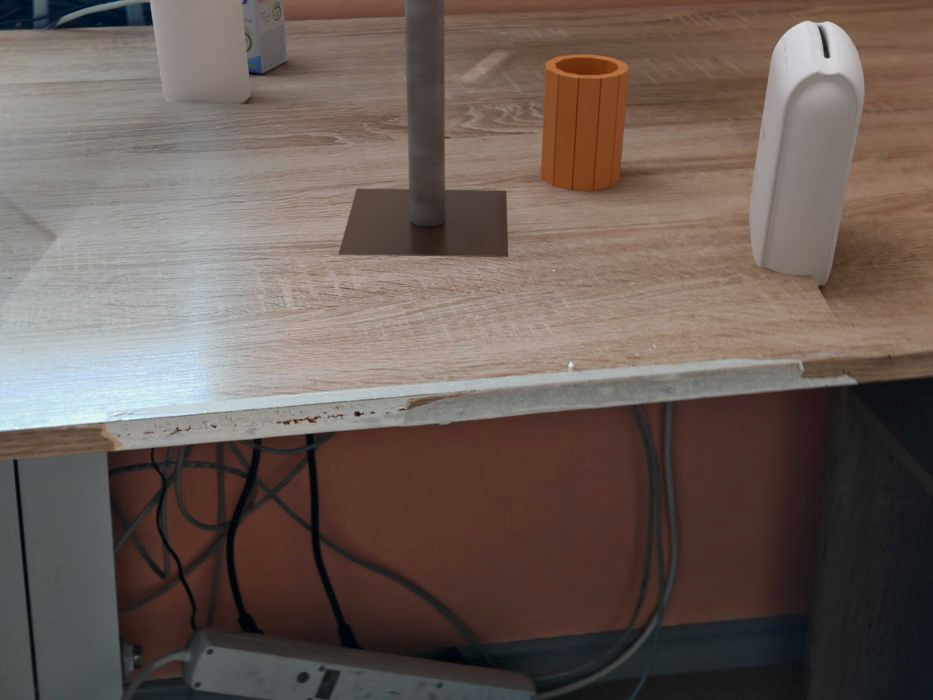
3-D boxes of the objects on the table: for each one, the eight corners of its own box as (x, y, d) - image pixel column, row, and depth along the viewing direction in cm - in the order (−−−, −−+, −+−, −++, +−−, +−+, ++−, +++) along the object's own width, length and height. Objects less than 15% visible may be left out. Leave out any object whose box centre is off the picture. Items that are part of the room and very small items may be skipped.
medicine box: (179, 65, 90) (165, -43, 86) (208, 51, 94) (196, -54, 89) (263, 75, 88) (253, -36, 83) (289, 61, 92) (281, -46, 87)
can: (191, 121, 78) (168, -53, 72) (149, 99, 83) (124, -67, 76) (267, 102, 82) (252, -64, 76) (223, 82, 86) (205, -77, 80)
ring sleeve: (541, 208, 65) (547, 77, 61) (539, 178, 69) (544, 53, 65) (621, 209, 65) (632, 78, 61) (613, 178, 69) (623, 54, 65)
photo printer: (743, 212, 65) (774, 1, 59) (817, 218, 64) (856, 5, 58) (747, 291, 56) (784, 53, 50) (833, 298, 56) (882, 59, 49)
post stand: (339, 274, 58) (318, -62, 49) (357, 206, 65) (342, -94, 57) (507, 276, 58) (517, -60, 49) (506, 208, 65) (514, -92, 56)
